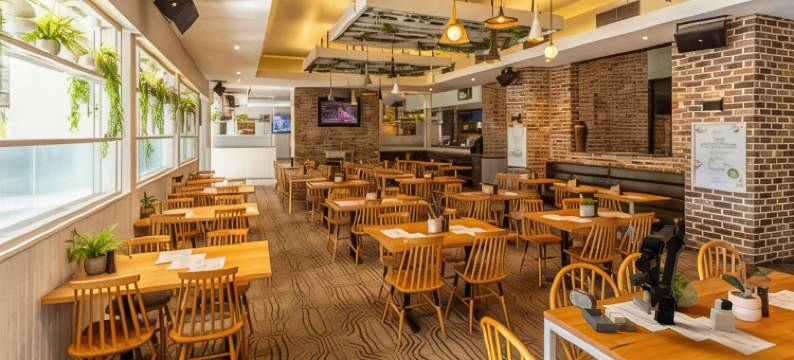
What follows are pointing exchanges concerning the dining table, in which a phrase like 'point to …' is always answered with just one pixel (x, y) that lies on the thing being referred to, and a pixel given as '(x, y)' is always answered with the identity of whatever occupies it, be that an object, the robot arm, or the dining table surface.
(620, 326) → the board
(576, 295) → the tin
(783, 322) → the dining table surface
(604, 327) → the tray
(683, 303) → the lettuce
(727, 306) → the medicine bottle
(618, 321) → the tile
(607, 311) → the tile
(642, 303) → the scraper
